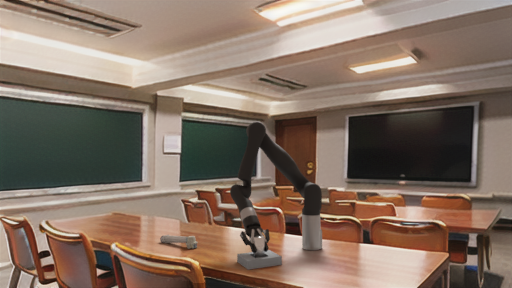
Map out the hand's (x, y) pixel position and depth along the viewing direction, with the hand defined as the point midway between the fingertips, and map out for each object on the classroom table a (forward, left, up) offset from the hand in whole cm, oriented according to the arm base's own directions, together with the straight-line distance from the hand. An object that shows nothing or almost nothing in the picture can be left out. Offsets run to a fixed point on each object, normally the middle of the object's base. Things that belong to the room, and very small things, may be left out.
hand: (260, 251), depth 154 cm
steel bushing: (0, -2, -4) cm, 5 cm away
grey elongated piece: (+25, -50, -6) cm, 56 cm away
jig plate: (0, -2, -6) cm, 6 cm away
